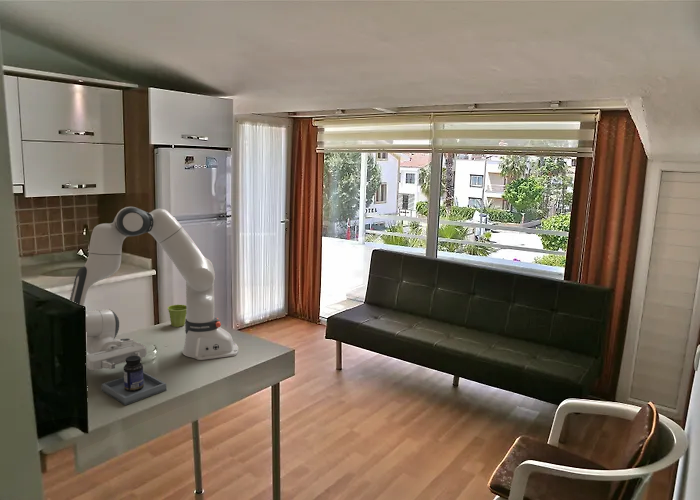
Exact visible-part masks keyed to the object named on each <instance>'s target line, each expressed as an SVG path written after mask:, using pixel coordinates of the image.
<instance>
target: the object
mask: <svg viewBox="0 0 700 500" xmlns="http://www.w3.org/2000/svg"><path fill="white" fill-rule="evenodd" d="M167 310H168V314H169V318H170V319H169V320H170V326H172V327H175V328H180V327H183V326H184V327H185V320H186V304H173V305H169V306H167Z"/></svg>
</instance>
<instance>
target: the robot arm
mask: <svg viewBox="0 0 700 500" xmlns="http://www.w3.org/2000/svg"><path fill="white" fill-rule="evenodd" d="M147 233H148V234H149V235H151V236H152V237H153V239H154V240H155V241H156V242H157V243H158V245H159V246H160V247H161V248H162V250H163V251H164V252H165V254H166V255H167V256H168V257H169V258H170V259H171V261H172V263H173V264H174V266H175V268H176V269H177V271H178V272H179V273H180V275H181V276H182V277H183V279H184V281H185V283H186V284H185V286H186V287H185V289H186V290H185V294H186V295H185V297H186V300H185V301H186V303H185V305H186V319H185V325H184V332H185V339H184V340H185V341H184V345H183V347H182V348H183V349H182V351H181V352H182V354H183V355H184V356H186V357H188V358H192V359H195V360H198V361H206V360H212V359H219V358H226V357H234V356H237V355H238V353H239V346H238V344H237V343H236V342H234V340H233V337H232V335H231V333H230V332H228V331H227V330H226V329H224V328H222V327H221V325H222V324H221V321H220V319H219V317H215V280H216V272H215V268H214V264H213V263H212V261H211V260H210V259H209V258H207V257H205V256H204V254H203V253H202V252H201V250H200V249H199V247H198V246H197V244H196V243H195V241H194V240H193V239H192V238H191V236H190V234H189V233H188V232H187V231H186V229H185V228H184V227H183V226H182V224H181V223H180V222H179V221H178V220H177V219H176V217H174V216H173V214H171V213H170V211H168V210H167V209H165V208H155V209H153V210H152V211H150V212H148V211H145V210H143V209H141V208H138V207H135V206H125V207H124V208H121V209H120V210H119V211H118V212H117V214H116V215H115V217H113V219H112V221H110V223H107V222H105V223H100V224H97V225H96V226H94V228H93V229H92V232H91V236H90V241H89V245H88V247H89V248H88V257H87V259H86V262H85V264H84V265H83V266H82V267H80V268H79V269H78V270H77V273H76V275H75V278H74V282H73V285H72V288H71V289H72V290H71V294H70V297H69V298H70V299H69V301H70V300H71V301H74V302H76V303H78V304H81V305H83V306H85V301H86V298H87V293H88V291H89V289H90V287H91V286H92V285H95V284H96V283H97V282H99V281H102V280H105V279H107V278H109V277H111V276H113V275H114V274H116V273H117V272H118V271H119V269H120V267H121V265H122V255H123V254H122V252H123V250H122V248H123V243H124V241H125V239H126V238H128V237H138V236H141V235H144V234H147ZM85 311H86V332H87V352H86V353H87V354H86V355H87V366H86V367H87V369H88V370H89V371H97V370H101V369H109V370H113V369H115V368H116V365H119V364H123V363H126V358H127V357H129V356H140V359H141V361H140V362H142V359H143V358H145V357H146V356H147V346H145V345H144V344H142V343H141V342H139V341H134V339H133V338H116V337H117V335H118V334H119V329H120V320H119V317H118V315H117V313H115V311H113V310H111V309H110V308H109V309H107V308H106V309H96V310H85Z"/></svg>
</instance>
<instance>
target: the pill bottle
mask: <svg viewBox="0 0 700 500" xmlns="http://www.w3.org/2000/svg"><path fill="white" fill-rule="evenodd" d="M141 362H142V361H141V359H140V356H129V357H127V358H126V362H125V363H126V364H124V366H123V377H124V388H125V390H126V391H131V392H133V391H138V390H141V389H142V388H143V386H144V383H143V371H144V365H143V363H141Z"/></svg>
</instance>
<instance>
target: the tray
mask: <svg viewBox="0 0 700 500" xmlns="http://www.w3.org/2000/svg"><path fill="white" fill-rule="evenodd" d="M143 383H144V386H143V388H142V389H141V390H138V391H133V392H131V391H126V390H125V388H124V376H122V377H119V378H116V379H113V380H110V381H107V382H103V383H101V392H103V393H105V395H108V396H109V397H110V398H112V399H115V401H118V402H119V403H120V404H122V405H123V406H127V405H130V404H132V403H135V402H138V401H141V400H143V399H144V400H145V399H146V398H149V397H151V396H154V395H157V394H160V393H163V392H165V391H167V382H165V381H162V380H161V379H159V378H157V377H155V376H153V375H152V374H149V373H147V372H146V371H144V370H143Z"/></svg>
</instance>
